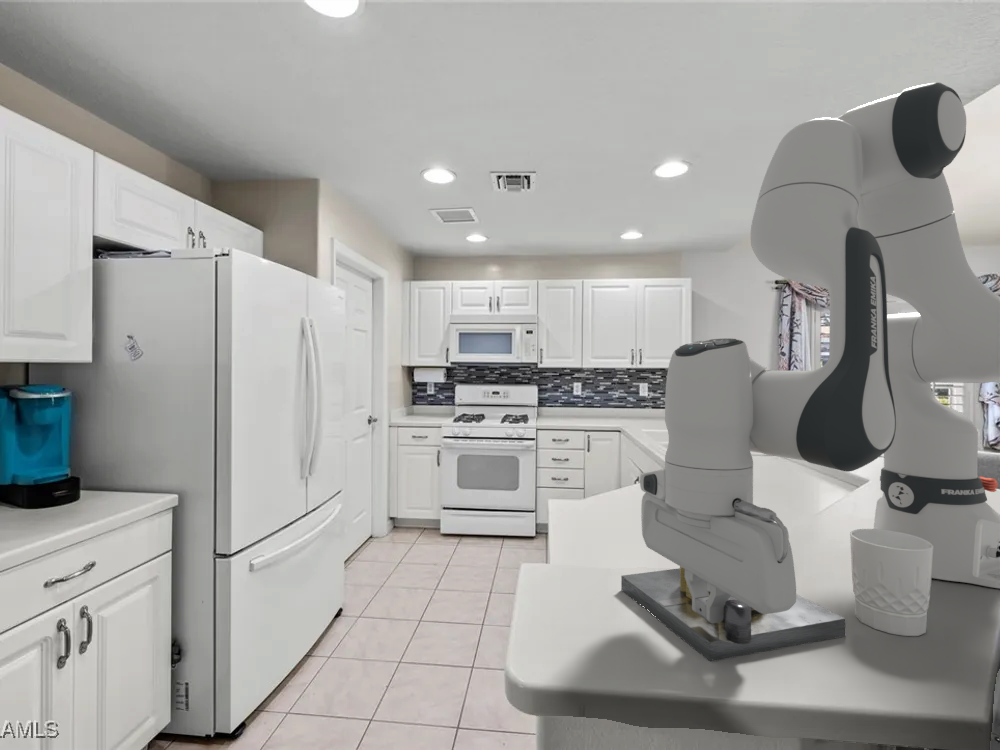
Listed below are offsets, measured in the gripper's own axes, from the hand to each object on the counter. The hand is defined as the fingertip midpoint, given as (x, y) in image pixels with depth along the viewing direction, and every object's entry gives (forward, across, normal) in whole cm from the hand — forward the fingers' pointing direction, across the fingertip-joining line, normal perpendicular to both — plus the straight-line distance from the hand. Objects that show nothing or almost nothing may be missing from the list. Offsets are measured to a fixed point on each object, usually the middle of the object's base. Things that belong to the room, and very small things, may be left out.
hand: (707, 616), depth 56 cm
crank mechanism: (+3, +6, -7) cm, 10 cm away
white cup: (+4, -2, -24) cm, 25 cm away
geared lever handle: (+1, +3, -5) cm, 6 cm away
